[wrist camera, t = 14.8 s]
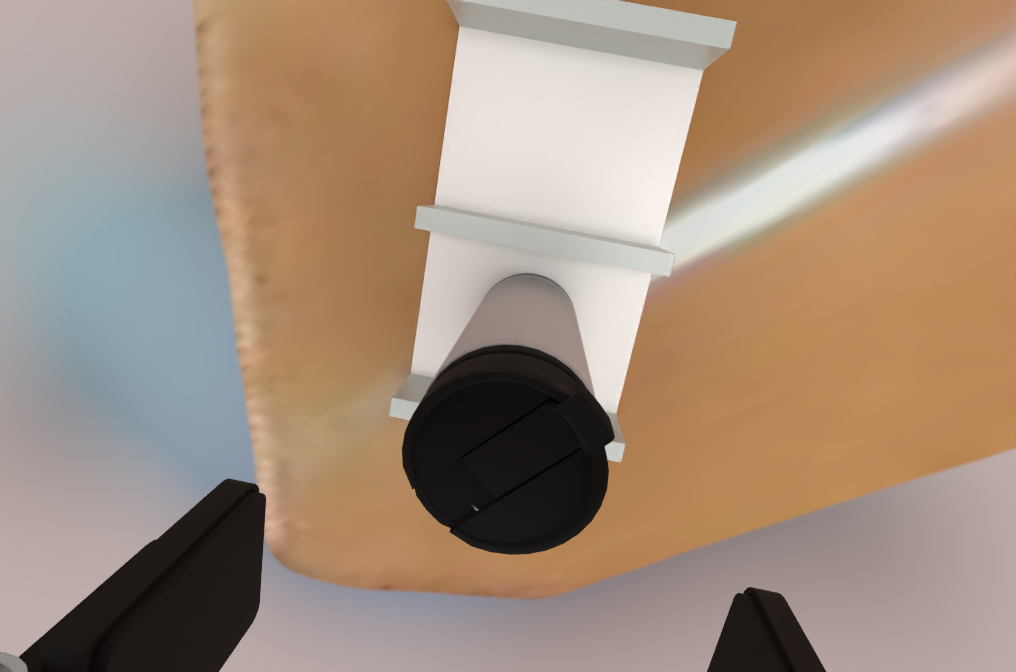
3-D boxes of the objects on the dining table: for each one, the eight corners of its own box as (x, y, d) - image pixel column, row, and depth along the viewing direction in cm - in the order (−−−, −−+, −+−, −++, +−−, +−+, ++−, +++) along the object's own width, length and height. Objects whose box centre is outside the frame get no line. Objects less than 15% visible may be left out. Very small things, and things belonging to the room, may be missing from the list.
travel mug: (599, 327, 34) (666, 498, 15) (517, 384, 36) (481, 609, 16) (541, 249, 33) (532, 322, 14) (459, 311, 35) (347, 455, 15)
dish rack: (466, 11, 31) (448, -31, 26) (701, 54, 31) (737, 21, 25) (413, 382, 38) (389, 415, 32) (609, 421, 37) (620, 462, 32)
